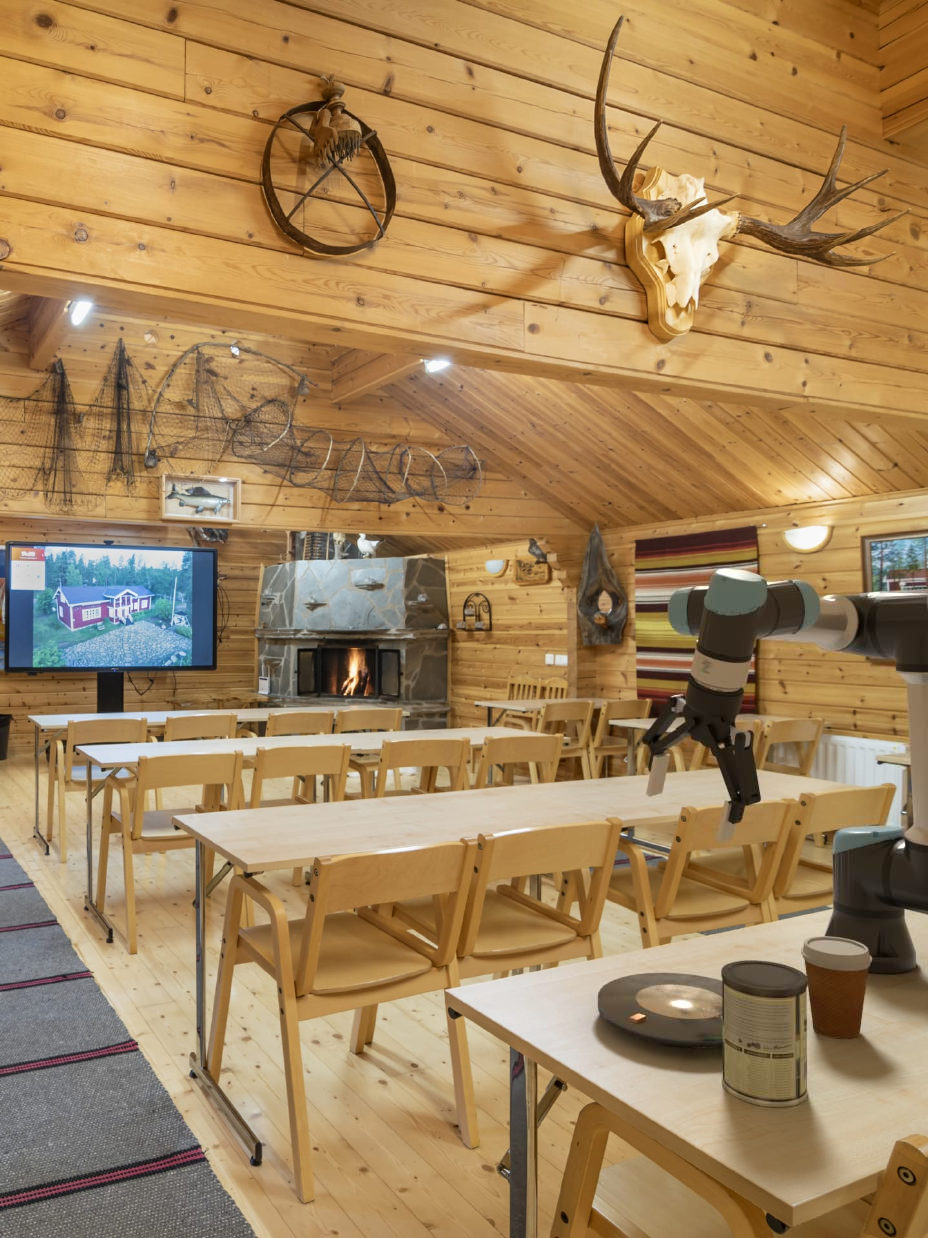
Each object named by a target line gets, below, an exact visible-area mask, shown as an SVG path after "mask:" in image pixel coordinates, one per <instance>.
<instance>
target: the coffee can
mask: <svg viewBox="0 0 928 1238" xmlns="http://www.w3.org/2000/svg"><path fill="white" fill-rule="evenodd" d="M720 976H721V981H722V1017H723V1018H722V1021H723V1047H722V1078H721V1083H722V1087H723V1088H724V1089H725V1091H727V1093H729V1095H731V1096H733V1097H734V1098H737V1099H739V1100H741V1101H743V1102H745V1103H749V1104H751V1105H757V1106H759V1107H768V1108H785V1107H793V1106H797V1105H799V1104H802V1103H804V1102H805V1101H806V1099H807V1098H808V1096H809V1095H808V1094H809V1091H808V1038H807V1037H808V1033H807V1032H808V1022H807V1021H808V1014H807V1013H808V1010H807V1009H808V1004H807V1003H808V1001H807V999H808V998H807V997H808V996H807V995H808V993H807V992H808V991H807V990H808V978H807V976H806V974H805V973H804V972H803V971H801V970H799V969H797V968H795V967H793V966H789V965H787V964H783V963H779V962H773V961H768V960H767V961H766V960H757V959H756V960H751V959H749V960H748V959H747V960H746V959H745V960H738V961H731V962H730V963H727V964H725V965H723V966H722V967H721V970H720Z"/></svg>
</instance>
